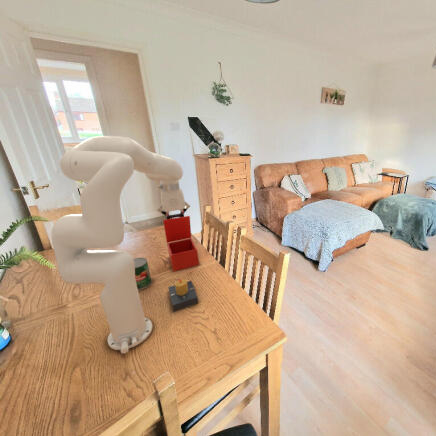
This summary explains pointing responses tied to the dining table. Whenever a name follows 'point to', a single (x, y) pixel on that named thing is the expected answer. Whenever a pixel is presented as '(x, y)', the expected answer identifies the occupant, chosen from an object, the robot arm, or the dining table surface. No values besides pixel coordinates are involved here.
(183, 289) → the knob
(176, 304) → the panel
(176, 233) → the red box lid
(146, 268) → the canned tomato
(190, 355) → the dining table surface
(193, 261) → the open red box
